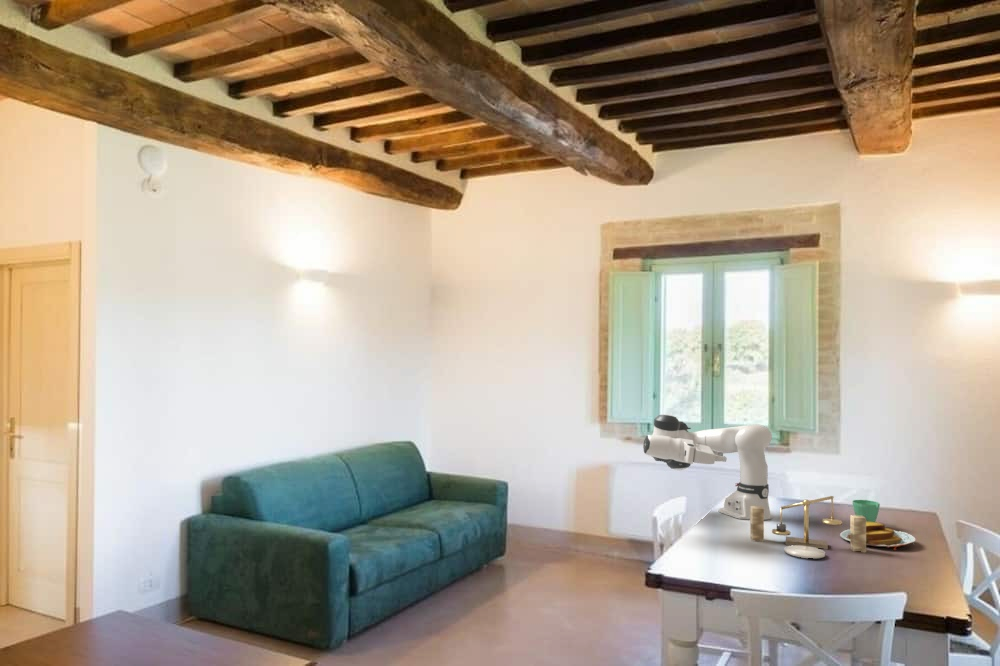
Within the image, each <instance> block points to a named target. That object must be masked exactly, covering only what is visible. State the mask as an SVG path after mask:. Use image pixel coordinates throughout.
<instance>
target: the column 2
mask: <svg viewBox="0 0 1000 666" xmlns="http://www.w3.org/2000/svg"><path fill="white" fill-rule="evenodd" d="M849 518H850V521H849V523H850V524H849V525H850V528H849V529H850V541H849V542H850V548H851V549H852V550H851V549H850V548H849V549H850V550H851V551H853V550H854V551H861V552H860V553H867V545H866V518H865V517H863V516H857V515H855V514H853V515H852V514H850V516H849ZM854 551H853V552H854Z"/></svg>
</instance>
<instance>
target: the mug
mask: <svg viewBox="0 0 1000 666" xmlns="http://www.w3.org/2000/svg"><path fill="white" fill-rule="evenodd" d="M852 507H853V511H854V515H857V516H863V517H865V518H866V521H869V522H876V521H877V519H878V518H877V517H878V514H879V511H880V507H881V504H880V502H878V501H874V500H869V499H853V500H852Z"/></svg>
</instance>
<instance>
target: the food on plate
mask: <svg viewBox="0 0 1000 666" xmlns="http://www.w3.org/2000/svg"><path fill="white" fill-rule="evenodd" d="M839 537H840V538H842V539H843V540H845V541H849V542H850V528H848V529H846V530H845V529H844V530H843V531H842V532H840V534H839ZM846 537H847V538H846ZM915 541H917V538H916V537H915V536H914V535H912V534H910V533H908V532H905V531H901V530H900V531H898V530H896V529H892V528H890V527H889V528H887V527H885V524H884V523H881V522H876V521H875V522H869V521H866V546H871V547H881V548H882V547H885V548H890V547H894V548H893V549H892V550H893V551H897V547H901V546H906V545H909V544H913V545H915Z"/></svg>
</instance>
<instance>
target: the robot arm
mask: <svg viewBox="0 0 1000 666" xmlns="http://www.w3.org/2000/svg"><path fill="white" fill-rule="evenodd" d="M691 429H692V428H691V427H689V426H688V425H687V423H685V422H684V421H683V420H679V419H678V418H677V417H676V416H675V415H672V414H667V413H665V414H660V415H658V416H656V417H655V418H654V420H653V429H652V430H653V432H652V434H647V435H646V436H645V438H644V440H643V447H642V448H643V452H644V455H646V456H650V457H651V458H653V460H654V461H656V462H663V463H666V465H667V466H668V468H670V469H673V470H675V471H683V470H686V469H688V468H690V467H691V465H692V464H694V463H695V464H705V465H715V462H724V463H725V462H727V456H724V454H732V453H733V454H734V453H737V454H738V459H739V466H740V467H739V469H740V470H739V476H740V479H739V480H740V481H739V482H737V483H735V485H734V487H737V488H736V490H735V491H734V492H732V493H730V494H729V495H728V496H726V497H725V499H724V503H723V507H720V508H718V510H717V511H718V513H721V514H725V515H727V516H729V517H733V518H736V519H738V520H739V519H740V520H751V506H759V507H762V508H763V509H764V521H767V520H772V513H771V510H770V504H769V493H770V492H769V486H770V485H769V484H768V464H767V460H766V455H765V449H766V448H767V447H768V446H769V445H770V444H771V442H772V441H773V440H772V439H773V436H772V435H773V434H772V431H771V429H769V428H768V427H767V426H765V425H762V424H759V423H757V424H749V425H747V424H746V425H739V426H732V427H720V428H711V429H709V428H708V429H702V430H697V431H693V432H690V431H689V430H691Z"/></svg>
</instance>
